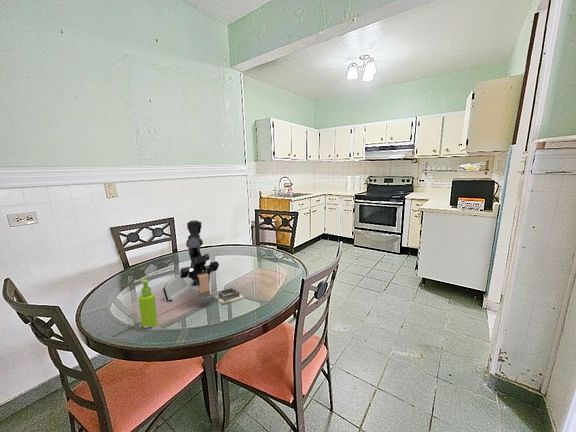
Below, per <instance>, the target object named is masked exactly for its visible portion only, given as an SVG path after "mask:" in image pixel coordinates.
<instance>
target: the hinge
mask: <svg viewBox="0 0 576 432" xmlns="http://www.w3.org/2000/svg"><path fill="white" fill-rule="evenodd" d="M191 290H192V289H191V287H190V286H188V283H187V282H186V280H185V278H180V277H179V278H177V277H176V278H175V279H171V280H169V281H168V282H166V283H165V284H164V285H163V287H161V293H162V296H163V300H164V302H168V301H172V303H173V302H175V301H176V300H178V299H180V298H181V297H182V296H185V294H187V293H188V292H190V291H191Z"/></svg>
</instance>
